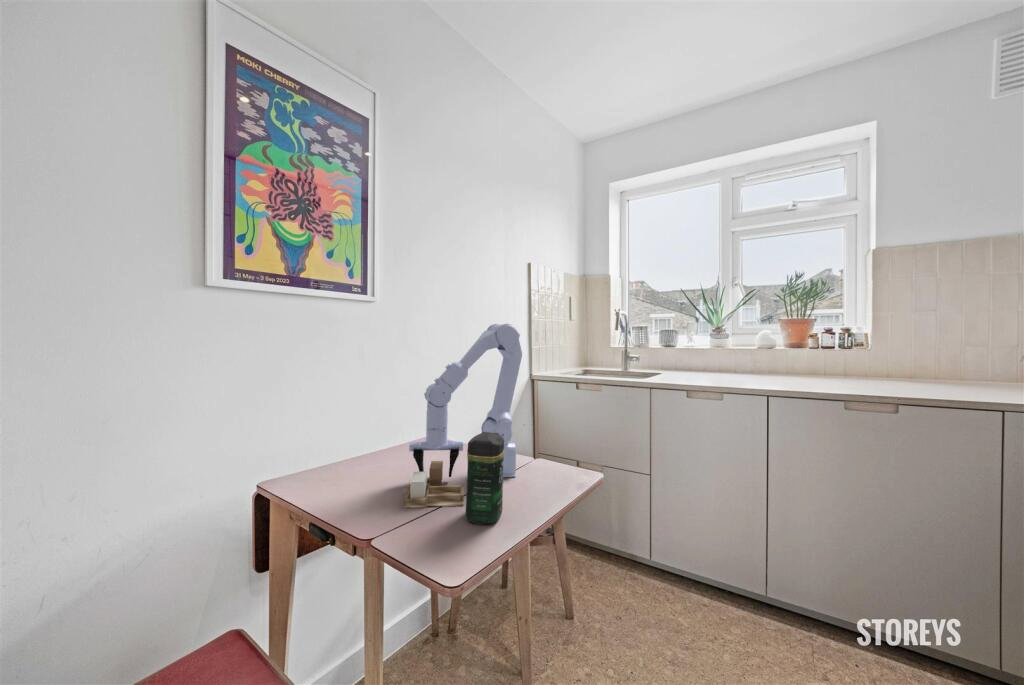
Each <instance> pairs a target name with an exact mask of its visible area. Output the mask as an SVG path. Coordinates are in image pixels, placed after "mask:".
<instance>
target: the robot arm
mask: <svg viewBox="0 0 1024 685" xmlns="http://www.w3.org/2000/svg"><path fill="white" fill-rule="evenodd" d="M520 337H521V335H520V333H519V331H518V330H517V329H516V327H515V326H514V325H513V324H510V323H504V324H498V323H495V324H494V323H493V324H491V325H489V326H488V327H487V329H486V330H484V331H483V332H482V333H481V335H480V336H479V337H478V338H477V340H476V341H475V342H474V343H473V345H472V346H471V347H470V348H469V349H468V350H467V352H466V353H465V355H464V356H462V358H461V359H460V360H459V362H457V361H456V362H452V363H450V364H447V365H446V366H445V370H444V372H442V373H441V375H440V376H438V377H437V378H435V379H434V383H431V384H430V385H428V387H426V390H425V392H424V393H423V394H424V398H425V401H427V403H426V404H427V405H426V423H425V424H426V426H425V427H426V429H425V430H426V432H425V433H426V435H425V436H426V437H425V438H426V440H424V441H417V442H416V441H414V442H410V443H409V445H408V447H409V448H408V449H409V450H408V451H409V452H412V456H413V457H412V458H414V460H415V462H416V465H417V467H418V472H425V470H424V469H425V468H424V454H425V453H424V452H425V451H449V467H448V478H452V474H453V469H454V467H455V466H454V465H455V463H456V461H457V459H458V457H459V454H460V451H461V452H463V451H464V442H463V441H451V440H448V421H449V420H448V418H449V414H448V412H449V411H448V408H449V407H448V406H449V405H448V403H450V402H451V400H452V394H454V392H455V391H456V390H457V389H458V388H459V387H460V385H461V384H462V383H463V382H464V381H465V380H466V379H467V377H468V376H469V370H470V368H471V367H472V366H473V365H474V364H475V363H476V362H477V361H478V360H479V359H480V358H481V357H482V356H483V355H484V354H485V353H486V352H487V351H489V350H493V349H497V350H498V351H499V353H500V354H501V356H502V357H503V358H502V363H501V366H500V371H499V375H498V380H497V385H496V390H495V394H494V399H493V402H492V406H491V409H490V410H489V411H488V412H487V414H486V418H485V419H484V421H483V422H482V424H481V433H482V432H492V433H498V434H499V435H500V436H502V437H503V438H504V463H503V478H515V477H516V476H517V475H516V468H517V463H516V461H517V459H516V458H517V455H516V454H517V450H516V443H514V442H510V441H511V440H512V437H513V430H512V429H513V428H512V424H513V420H512V417H511V412H510V411H511V406H512V402H513V398H514V394H515V390H516V389H515V388H516V384H517V380H518V376H519V371H520V366H521V362H522V357H523V351H522V347H521V343H520Z"/></svg>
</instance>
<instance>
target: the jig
mask: <svg viewBox="0 0 1024 685" xmlns="http://www.w3.org/2000/svg"><path fill="white" fill-rule="evenodd" d="M464 492H465V491H464V484H462V485H461V484H460V485H441V486H430V483H429V482H427V487H426V495H425V498H413V499H410V483H409V484H408V486H407V489H406V492H405V495H404V498H403V505H402V506H403V507H402V508H407V507H411V508H428V507H427V506H442V507H463V506H464ZM425 506H426V507H425Z"/></svg>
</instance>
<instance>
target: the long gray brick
mask: <svg viewBox="0 0 1024 685" xmlns="http://www.w3.org/2000/svg"><path fill="white" fill-rule="evenodd" d="M427 474H428V471H424V472H419V471H413V474H412V477H411V479H410V482H409V484H410V499H413V498H425V495H426V487H427V483H428V482H427V481H428V480H427V479H428V476H427Z"/></svg>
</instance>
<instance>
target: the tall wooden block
mask: <svg viewBox="0 0 1024 685" xmlns="http://www.w3.org/2000/svg"><path fill="white" fill-rule="evenodd" d="M443 462H444V461H443V460H431V461H430V465H429V472H428V473H429V474H428V475H429V477H428V479H429V480H428V481H429V482H428V483H430V486H443V485H442V483H443V476H444V473H443V472H444V470H443V467H444V463H443Z"/></svg>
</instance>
